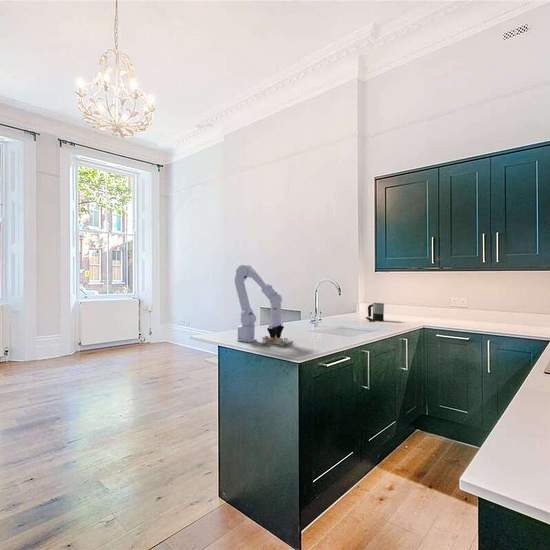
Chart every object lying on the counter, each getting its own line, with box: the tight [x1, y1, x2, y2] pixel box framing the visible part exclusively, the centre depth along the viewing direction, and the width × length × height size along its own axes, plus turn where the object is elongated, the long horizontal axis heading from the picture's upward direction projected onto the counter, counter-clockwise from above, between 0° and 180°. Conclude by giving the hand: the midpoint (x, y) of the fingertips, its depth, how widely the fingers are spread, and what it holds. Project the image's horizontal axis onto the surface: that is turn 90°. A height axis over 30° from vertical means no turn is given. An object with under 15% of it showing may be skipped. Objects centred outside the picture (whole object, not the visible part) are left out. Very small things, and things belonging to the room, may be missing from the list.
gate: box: [264, 335, 284, 344], centre depth 196 cm, size 10×1×3 cm, turn 66°
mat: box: [260, 340, 294, 348], centre depth 199 cm, size 15×16×1 cm
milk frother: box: [365, 302, 385, 322], centre depth 298 cm, size 14×16×15 cm
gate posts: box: [261, 336, 289, 346], centre depth 194 cm, size 14×3×4 cm, turn 86°
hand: (275, 339), depth 202 cm, fingers open, 7 cm apart
